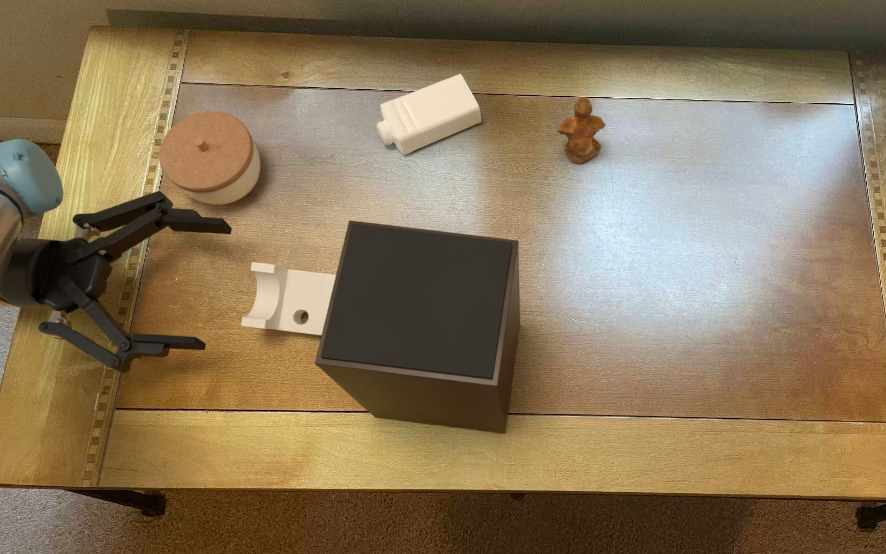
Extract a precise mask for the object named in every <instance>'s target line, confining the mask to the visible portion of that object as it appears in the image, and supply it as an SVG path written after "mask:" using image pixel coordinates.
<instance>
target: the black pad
mask: <svg viewBox="0 0 886 554" xmlns="http://www.w3.org/2000/svg"><path fill="white" fill-rule="evenodd" d="M511 249H512V243H511V242H503V241H494V240H486V239H478V238H469V237H461V236H452V235H444V234H436V233H427V232H419V231H411V230H402V229H394V228H385V227H377V226H369V225H360V224H352V227H351V231H350V235H349V239H348V243H347V248H346V252H345V256H344V260H343V264H342V269H341V273H340V277H339V281H338V285H337V290H336V294H335V298H334V302H333V306H332V311H331V315H330V319H329V323H328V327H327V331H326V336H325V340H324V344H323V348H322V352H321V358H324V359H332V360H340V361H348V362H356V363H364V364H372V365H380V366H388V367H396V368H404V369H412V370H420V371H428V372H437V373H445V374H453V375H461V376H469V377H477V378H485V379H492V378H493V371H494V364H495V358H496V351H497V344H498V337H499V331H500V324H501V317H502V310H503V303H504V297H505V290H506V283H507V276H508V270H509V263H510V256H511Z"/></svg>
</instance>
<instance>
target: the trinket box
mask: <svg viewBox="0 0 886 554" xmlns="http://www.w3.org/2000/svg"><path fill="white" fill-rule="evenodd" d="M158 162H159V166H160V168H161V171H162V173H163V174H164V176H165V177H166V178H167V179H168V180H169V181H170V182H171V183H172V184H173V185H175V186H176V187H177V188H178V189H180V190H181V191H182V192H183V193H184V194H185V195H187V196H188V197H189V198H192V199H194V200H196V201H199V202H201V203H204V204H208V205H215V206H218V205H220V206H221V205H227V204H232V203H235V202H237V201H240V200H241V199H243V198H244V197H246V196H247V195H249V193H250V192H251V191H252V190H253V189H254V187H255V186H256V184H257V182H258V180H259V177H260V174H261V165H262V164H261V157H260V153H259V149H258V147H257V145H256V142H255V141H254V140H253V137H252V134H251V133H250V131H249V129H248V128H247V126H246V125H245V124H244V122H242V121H241V119H239V118H238V117H236V116H234V115H232V114H230V113H227V112H223V111H214V110H209V111H202V112H201V111H199V112H197V113H194V114H191V115H188V116H185V117H184V118H183V119H181V120H179V121H177V123H175V124H174V125H172V127H171V128H170V129H169V130H168V131H167V133H166V134H165V135H164V138H163V139H162V141H161V144H160V147H159V153H158Z"/></svg>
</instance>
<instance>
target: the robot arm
mask: <svg viewBox="0 0 886 554" xmlns="http://www.w3.org/2000/svg"><path fill="white" fill-rule="evenodd" d="M62 182H63V181H62V179H61V175H60V173H59V172H58V170H57V168H56V166H55V164H54V163H53V161H52V160H51V158H50V157H49V156H48V155H47V153H46V152H45V151H44V150H43V148H41V147H40V146H39V145H38V144H37V143H35V142H33V141H31V140H29V139H25V138H15V139H11V140H5V141H0V307H15V308H16V307H17V308H24V309H25V308H26V309H27V308H28V309H45V310H51V312H50V314H49V317H48V319H47V321H45V320H43V321H41V322H40V323H39V324H38V327H37V329H38V331H39V333H42V334H44V335H47V336H48V337H51V338H53V339H56V340H62V341H66V342H68V343H70V344H71V345H72V346H74V347H76V348H77V349H79V350H80V351H82V352H83V353H85V354H87V355H89V356H90V357H92V358H93V359H95V360H96V361H98V362H100V363H102V364H103V365H105V366H106V367H108V368H109V369H112V370H115V371H117V372H118V373H119V372H120V373H121V374H126V373H128V372H129V371H130V370H131V368H132V365H131V364H132V362H133V361H134V360H135V359H137V360H139V359H142V358H143V357H146V358H147V357H149V358H166V357H169V354H170V350H171V349H172V350H186V351H187V350H189V351H205V350H206V347H207V343H206V342H204V341H203V340H201V339H199V338H198V337H197V336H188V335H171V334H154V333H152V334H151V333H136V332H135V333H134V332H133V333H132V335H130V334H129V333H128V332H127V331H126V330H125V329H124V327H122V326H121V325H120V323H119V322H118V321H117V320H116V319H115V318H114V317H113V315H112V314H110V312H109V311H108V310H107V308H106V306H105V305H104V304H103V303H102V302H101V301H100V300H99V298H101V297H102V295H103V294H106V292H107V289H108V279H109V278H110V277H111V274H112V272H113V269H114V268H113V266H112V265H111V264H112V263H115V261H117V260H120V258H122V255H123V254H124V253H126V252H127V251H129V250H131V249H132V248H134V247H136V246H137V245H139V244H141V243H142V242H144V241H146V240H148V239H149V238H150V237H152V236H154V235H156V234H157V233H160V232H161V231H163V230H164V229H166V228H167V227H168V228H169V229H170V230H171V231H172V232H181V233H197V234H199V233H200V234H214V235H215V234H217V235H218V234H219V235H231V234H232V230H233V228H232V226H231V225H230V224H229V223H228V222H227V221H226V220H225V219H224V217H210V216H208V217H207V216H202V215H201V214H200V213H199V211H197V210H195V209H190V208H174V207H173V206H174V203H173V201H172V200H171V199H169V197H167V195H166V194H164V192H162V191H160V190H158V191H154V192H151V193H147V194H145V195H143V196H139V197H136V198H134V199H130V200H128V201H125V202H122V203H119V204H117V205H114V206H111V207H108V208H105V209H101V210H99V211H96V212H88V213H76V214H75V215H73V217H72V219H71V220H72V223H73V224H74V225H76V228H75V235H74V237H73V238H70V239H67V240H60V239H59V240H58V239H47V238H31V237H30V238H28V237H27V238H26V237H22V238H19V237H20V234H21V232H22V230H23V227H24V225H25V222H26V220H27V219H29V218H34V217H35V218H36V217H37V218H38V217H42V215H43V214H45V213H48V212H50V211H53V210H55V209H57V208H58V207H60V206H61V205H62V203H63V201H64V186H63V183H62ZM113 230H114V231H113ZM111 231H113V232H112V233H110V234H108V235H106V236H101V234H102V233H105V232H111ZM93 237H96V238H95V239H94V240H92V241H90V239H91V238H93ZM89 241H90V242H89ZM102 251H104V253H102ZM80 309H81V310H82V311H84V313H85V314H86V315H87V316H88V317H89V318H90V319H91V320H92V322H94V324H95V325H96V326H97V327H98V328H99V330H101V331H102V332H103V334H104V335H105V336H106V338H108V339H109V340H110V342H111V343H112V344H113V346H115V347H116V348H117V350H116V351H115V353H114V352H112V351H111V350H109V349H108V348H106V347H105V346H102V345H101V344H99V343H97V342H96V341H94V340H93V339H91V338H90V337H88V336H87V335H85V334H83V333H82V332H80V331H77V330H75V328H74V325H73V323H72V321H71V320H69V319H67V315H69V314H72V313H74V312H75V311H78V310H80Z"/></svg>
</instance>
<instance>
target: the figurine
mask: <svg viewBox="0 0 886 554" xmlns="http://www.w3.org/2000/svg"><path fill="white" fill-rule="evenodd" d="M573 111H574V112H573V113H574V115H573V116H571V117H566V118H564V119H563V122H562V123H561V124H560V125H558V127H557V129H556V132H557V133H558V134H560V135H564V136H565V137H566V138H567V142H566V143H565V144H564V150H565V152H566V156H567V157H568V159H569V161H571V162H572V163H574V164H579V165H580V164H583V163H586V162H588V161H589V160H591V159H592V158H594V157H596V156H597V155H598V154H599V153H600V151H601V143H600V142H599V141H598V140H597V139H596V138H595V137H594V136H595V135H596V134H597V133H598V132H600V130H603V129H604V128H605V127H606V123H605V121H604V120H603V119H602V117H601V116H597V115H594V114H593V115H592V113H593V105H592V103H591V100H590V99H589V98H587V97H586V96H582V97H579V98H578V99H576V100H575V104H574V106H573Z"/></svg>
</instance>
